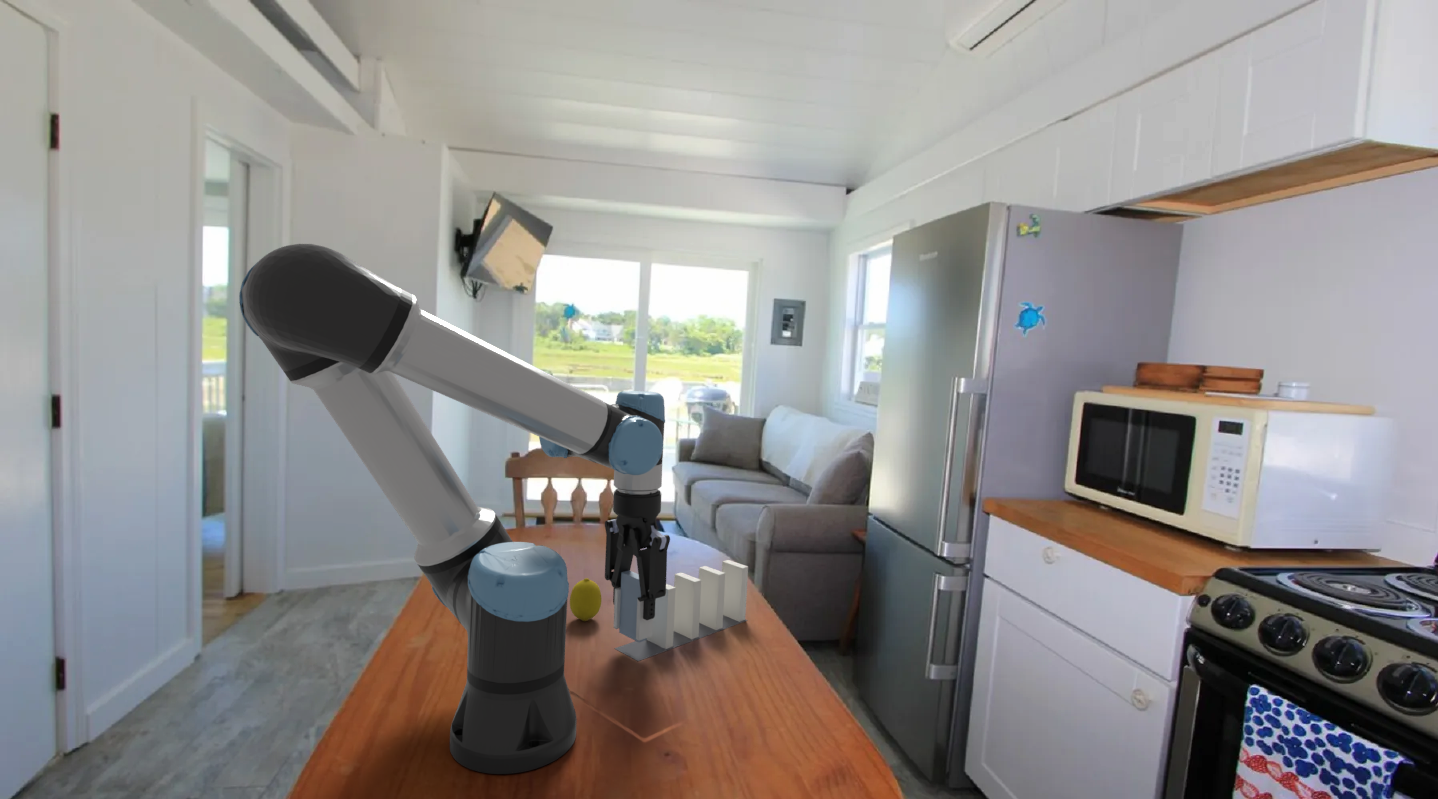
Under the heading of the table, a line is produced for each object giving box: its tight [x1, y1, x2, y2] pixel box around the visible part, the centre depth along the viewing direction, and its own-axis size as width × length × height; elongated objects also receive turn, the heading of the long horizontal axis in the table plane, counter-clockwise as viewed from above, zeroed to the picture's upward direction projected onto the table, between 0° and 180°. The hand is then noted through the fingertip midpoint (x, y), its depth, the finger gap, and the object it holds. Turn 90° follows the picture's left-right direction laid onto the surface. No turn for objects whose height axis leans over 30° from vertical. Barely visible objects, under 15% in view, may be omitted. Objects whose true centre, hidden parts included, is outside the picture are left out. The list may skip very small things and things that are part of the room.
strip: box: [614, 615, 748, 662], centre depth 120 cm, size 26×6×1 cm, turn 136°
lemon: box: [569, 577, 602, 622], centre depth 124 cm, size 6×6×8 cm
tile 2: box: [647, 583, 676, 649], centre depth 116 cm, size 2×5×10 cm, turn 46°
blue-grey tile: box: [618, 570, 649, 642], centre depth 111 cm, size 2×5×10 cm, turn 46°
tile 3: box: [673, 572, 701, 639], centre depth 120 cm, size 2×5×10 cm, turn 46°
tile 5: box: [721, 559, 749, 622], centre depth 129 cm, size 2×5×10 cm, turn 46°
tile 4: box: [698, 565, 725, 630], centre depth 124 cm, size 2×5×10 cm, turn 46°
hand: (632, 631), depth 111 cm, fingers closed on blue-grey tile, 5 cm apart
